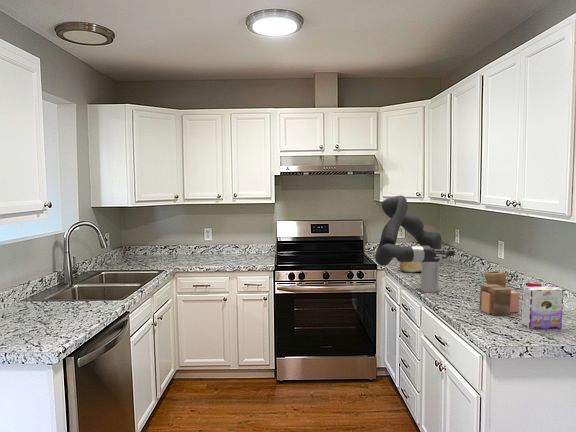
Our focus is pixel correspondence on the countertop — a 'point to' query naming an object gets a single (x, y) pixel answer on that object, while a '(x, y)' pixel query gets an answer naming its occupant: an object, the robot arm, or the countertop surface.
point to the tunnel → (498, 298)
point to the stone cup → (496, 278)
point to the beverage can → (533, 284)
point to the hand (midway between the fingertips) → (453, 253)
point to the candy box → (542, 307)
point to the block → (487, 302)
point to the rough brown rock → (411, 266)
